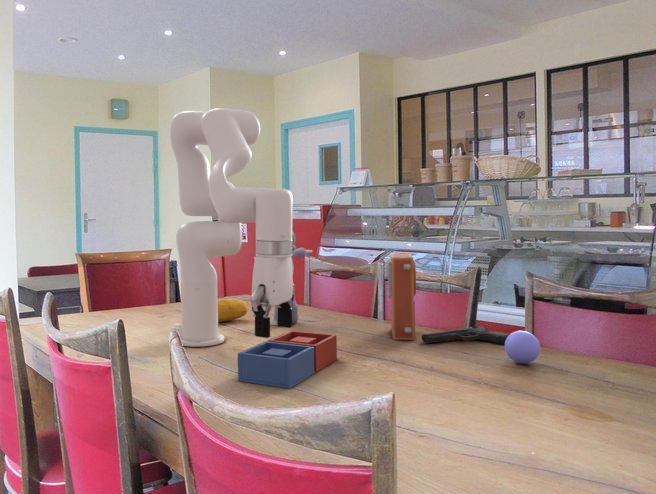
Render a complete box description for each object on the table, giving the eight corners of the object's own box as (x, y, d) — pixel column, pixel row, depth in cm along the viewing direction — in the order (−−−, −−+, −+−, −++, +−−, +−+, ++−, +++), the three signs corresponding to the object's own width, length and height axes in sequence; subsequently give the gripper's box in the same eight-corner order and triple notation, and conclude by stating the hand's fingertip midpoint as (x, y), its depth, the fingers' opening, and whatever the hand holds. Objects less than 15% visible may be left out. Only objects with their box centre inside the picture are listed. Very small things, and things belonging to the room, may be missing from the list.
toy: (299, 314, 188) (297, 222, 188) (320, 316, 184) (319, 222, 183) (244, 330, 164) (242, 225, 164) (267, 334, 159) (265, 225, 159)
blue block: (261, 375, 117) (261, 353, 117) (272, 369, 121) (272, 348, 121) (281, 378, 115) (281, 355, 115) (292, 372, 119) (291, 350, 119)
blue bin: (238, 380, 116) (237, 353, 116) (265, 366, 126) (265, 341, 126) (289, 388, 110) (289, 359, 110) (314, 373, 120) (314, 346, 120)
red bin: (267, 365, 127) (267, 340, 127) (291, 353, 137) (290, 330, 137) (316, 372, 121) (315, 345, 121) (337, 359, 131) (336, 334, 131)
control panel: (413, 329, 162) (417, 341, 147) (388, 328, 163) (389, 340, 148) (412, 253, 161) (416, 257, 147) (387, 253, 163) (388, 257, 148)
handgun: (453, 355, 136) (419, 342, 147) (515, 344, 143) (478, 333, 154) (453, 343, 135) (419, 331, 146) (515, 333, 143) (478, 322, 154)
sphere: (505, 366, 123) (505, 333, 123) (503, 358, 129) (503, 327, 129) (542, 368, 120) (541, 335, 120) (538, 360, 127) (538, 328, 127)
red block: (289, 361, 128) (288, 340, 128) (298, 356, 132) (297, 336, 132) (308, 363, 126) (307, 342, 126) (316, 358, 130) (316, 338, 130)
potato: (202, 320, 181) (202, 299, 181) (244, 317, 185) (244, 296, 185) (208, 325, 174) (208, 302, 173) (252, 321, 178) (251, 299, 178)
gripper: (277, 244, 127) (277, 321, 128) (236, 251, 112) (236, 338, 113) (308, 246, 124) (308, 325, 124) (270, 253, 109) (270, 343, 109)
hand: (274, 331), depth 119 cm, fingers open, 9 cm apart
